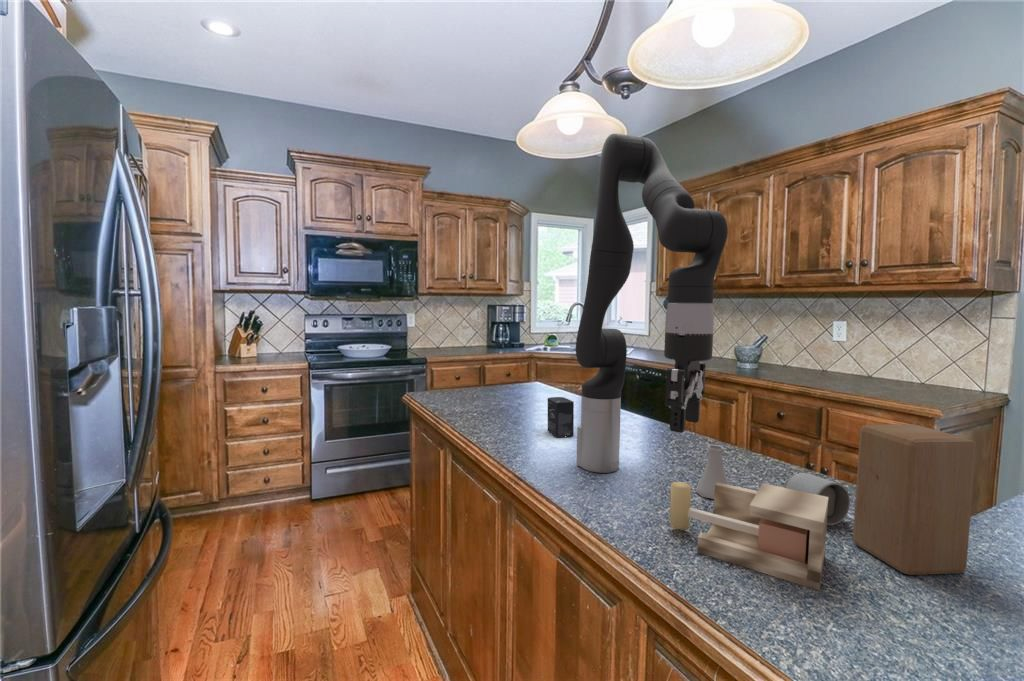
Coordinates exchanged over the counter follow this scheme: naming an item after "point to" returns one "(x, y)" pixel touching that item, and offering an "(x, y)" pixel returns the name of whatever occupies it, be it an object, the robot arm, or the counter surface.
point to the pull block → (742, 526)
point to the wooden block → (914, 497)
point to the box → (560, 416)
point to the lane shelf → (775, 507)
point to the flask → (712, 472)
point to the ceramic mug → (823, 494)
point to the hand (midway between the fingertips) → (684, 426)
